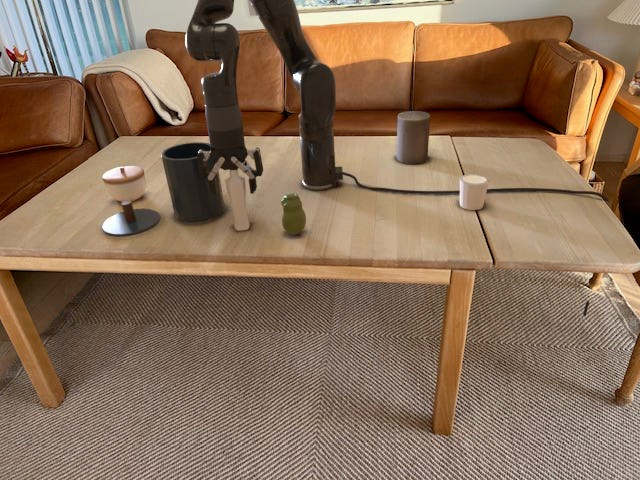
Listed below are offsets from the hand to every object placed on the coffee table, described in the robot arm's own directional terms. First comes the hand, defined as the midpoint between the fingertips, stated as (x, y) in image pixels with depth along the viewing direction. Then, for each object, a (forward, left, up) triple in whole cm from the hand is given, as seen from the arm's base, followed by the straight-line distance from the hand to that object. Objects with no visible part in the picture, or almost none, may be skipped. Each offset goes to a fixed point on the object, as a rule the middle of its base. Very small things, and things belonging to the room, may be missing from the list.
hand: (234, 192), depth 111 cm
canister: (+11, -9, -9) cm, 17 cm away
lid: (+27, -4, -8) cm, 29 cm away
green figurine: (-14, +4, -9) cm, 17 cm away
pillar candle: (-49, -40, -9) cm, 63 cm away
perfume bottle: (-1, 0, -9) cm, 9 cm away
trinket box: (+33, -20, -9) cm, 40 cm away
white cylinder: (-58, -6, -9) cm, 59 cm away
